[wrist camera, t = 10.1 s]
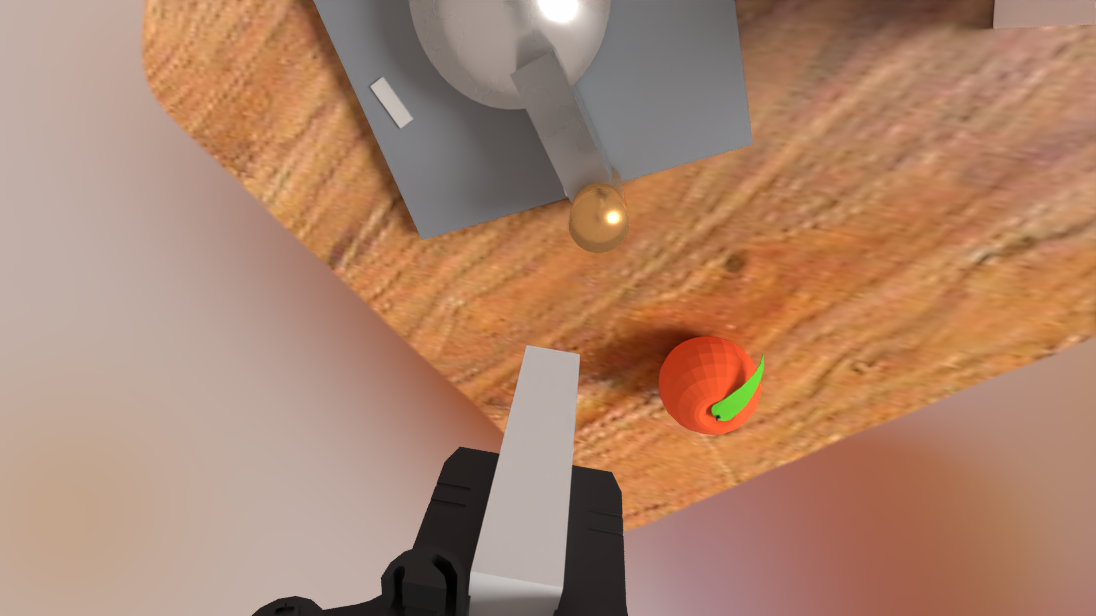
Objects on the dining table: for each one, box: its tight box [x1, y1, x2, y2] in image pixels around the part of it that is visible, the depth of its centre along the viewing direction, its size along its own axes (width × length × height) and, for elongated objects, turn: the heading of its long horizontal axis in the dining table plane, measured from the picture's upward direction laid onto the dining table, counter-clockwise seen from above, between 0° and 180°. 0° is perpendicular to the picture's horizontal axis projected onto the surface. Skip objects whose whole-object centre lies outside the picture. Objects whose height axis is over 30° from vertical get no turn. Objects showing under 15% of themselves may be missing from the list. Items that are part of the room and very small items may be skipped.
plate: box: [313, 0, 753, 240], centre depth 27 cm, size 22×22×2 cm
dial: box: [409, 0, 629, 253], centre depth 25 cm, size 18×10×7 cm, turn 27°
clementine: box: [659, 336, 764, 435], centre depth 35 cm, size 8×7×7 cm
